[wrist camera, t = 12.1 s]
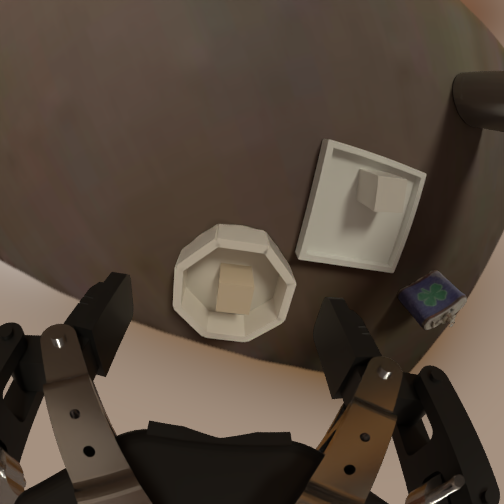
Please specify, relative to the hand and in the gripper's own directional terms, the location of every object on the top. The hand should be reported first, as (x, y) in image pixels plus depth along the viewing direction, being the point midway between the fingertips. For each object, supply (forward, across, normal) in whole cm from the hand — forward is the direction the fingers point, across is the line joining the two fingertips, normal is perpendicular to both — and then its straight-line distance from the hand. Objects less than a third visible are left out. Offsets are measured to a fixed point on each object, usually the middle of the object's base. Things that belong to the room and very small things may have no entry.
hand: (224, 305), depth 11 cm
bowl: (+23, -1, +12) cm, 26 cm away
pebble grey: (+23, -17, -3) cm, 28 cm away
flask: (+24, -32, +11) cm, 42 cm away
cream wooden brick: (+22, -1, +12) cm, 25 cm away
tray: (+24, -17, 0) cm, 29 cm away
